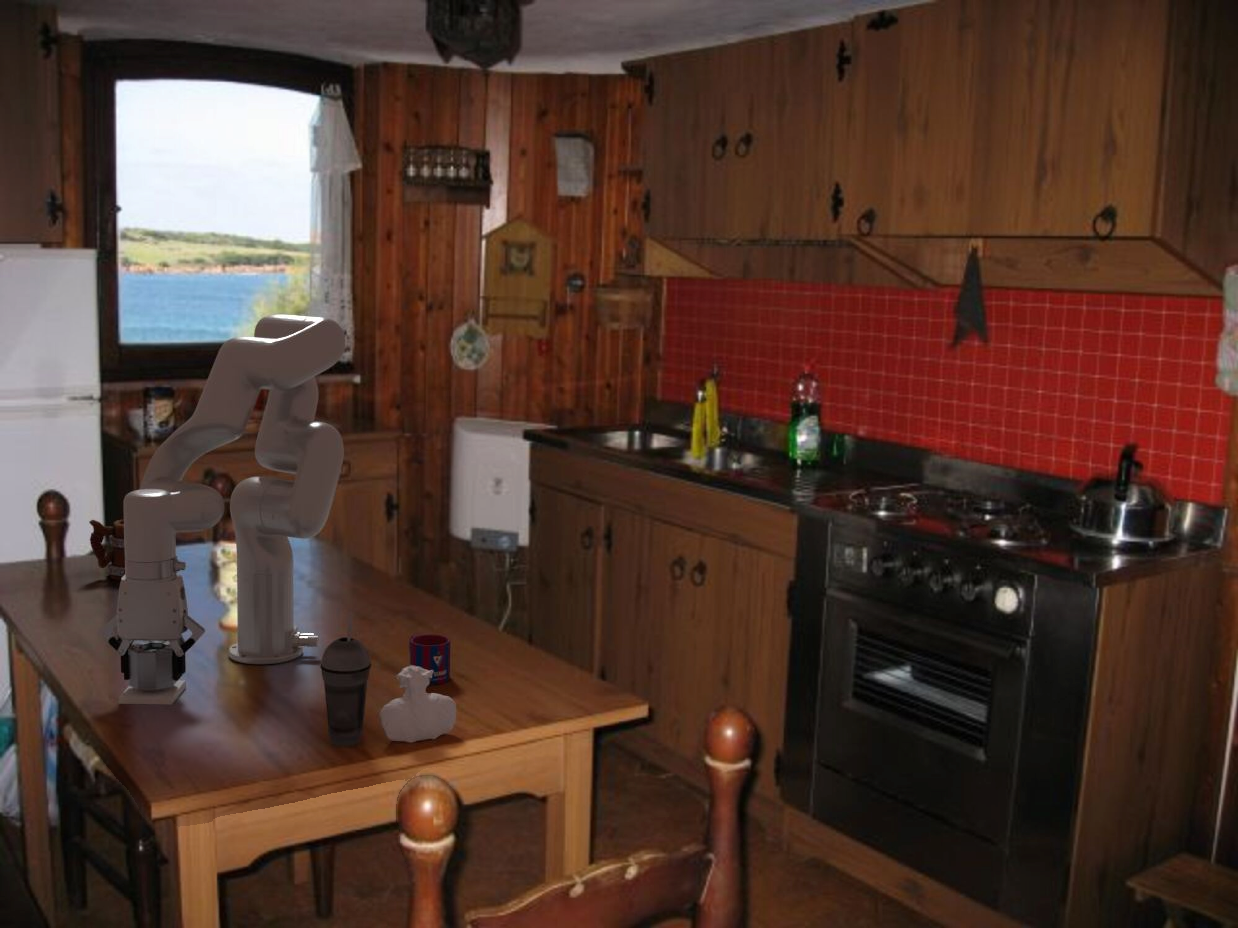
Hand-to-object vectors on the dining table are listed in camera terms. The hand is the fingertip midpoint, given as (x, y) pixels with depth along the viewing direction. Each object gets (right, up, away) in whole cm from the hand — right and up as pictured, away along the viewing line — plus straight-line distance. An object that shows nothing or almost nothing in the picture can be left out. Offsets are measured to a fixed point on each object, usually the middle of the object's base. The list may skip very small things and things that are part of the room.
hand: (153, 676), depth 204 cm
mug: (-31, +10, +72) cm, 79 cm away
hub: (0, -1, 0) cm, 1 cm away
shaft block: (0, -3, 0) cm, 3 cm away
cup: (+41, -2, +15) cm, 44 cm away
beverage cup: (+34, -7, -15) cm, 38 cm away
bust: (+44, -7, -12) cm, 46 cm away
